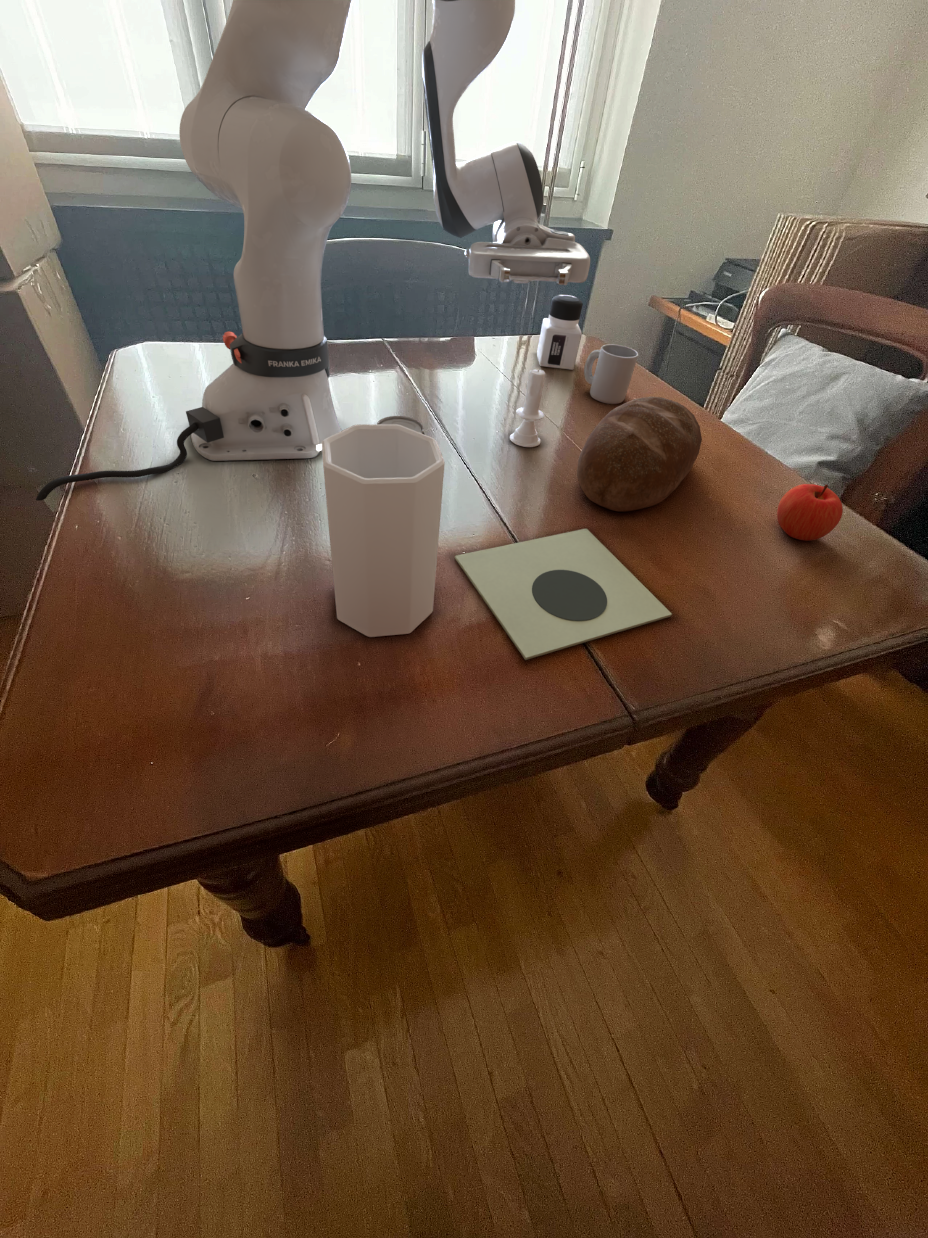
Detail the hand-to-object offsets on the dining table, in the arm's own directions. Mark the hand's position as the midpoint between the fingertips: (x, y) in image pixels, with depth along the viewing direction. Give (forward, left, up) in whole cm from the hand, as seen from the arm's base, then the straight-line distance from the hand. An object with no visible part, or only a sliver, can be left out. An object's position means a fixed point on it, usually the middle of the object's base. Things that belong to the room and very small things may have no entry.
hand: (534, 278), depth 86 cm
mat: (-19, -46, -22) cm, 54 cm away
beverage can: (-32, -25, -22) cm, 46 cm away
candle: (-4, -11, -22) cm, 25 cm away
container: (+22, +21, -22) cm, 38 cm away
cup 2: (+22, +3, -22) cm, 31 cm away
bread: (+8, -26, -22) cm, 35 cm away
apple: (+22, -47, -22) cm, 56 cm away
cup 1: (-40, -42, -22) cm, 62 cm away
